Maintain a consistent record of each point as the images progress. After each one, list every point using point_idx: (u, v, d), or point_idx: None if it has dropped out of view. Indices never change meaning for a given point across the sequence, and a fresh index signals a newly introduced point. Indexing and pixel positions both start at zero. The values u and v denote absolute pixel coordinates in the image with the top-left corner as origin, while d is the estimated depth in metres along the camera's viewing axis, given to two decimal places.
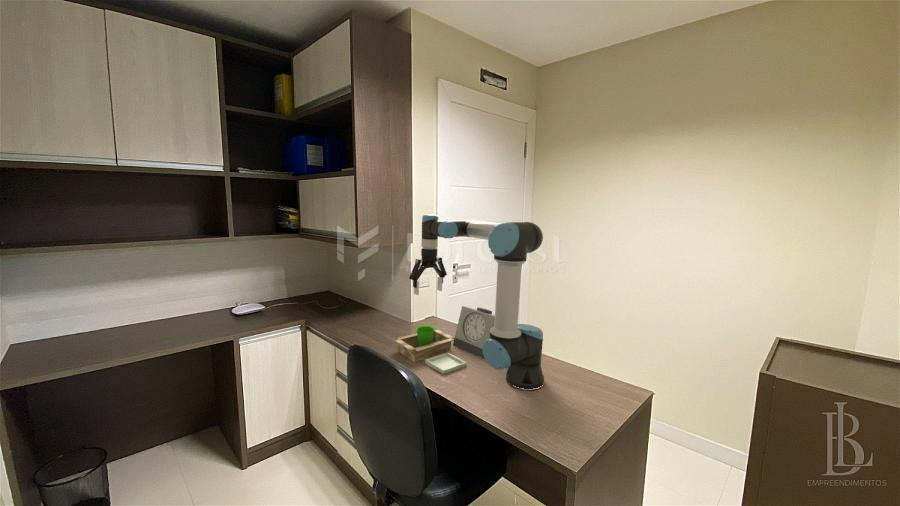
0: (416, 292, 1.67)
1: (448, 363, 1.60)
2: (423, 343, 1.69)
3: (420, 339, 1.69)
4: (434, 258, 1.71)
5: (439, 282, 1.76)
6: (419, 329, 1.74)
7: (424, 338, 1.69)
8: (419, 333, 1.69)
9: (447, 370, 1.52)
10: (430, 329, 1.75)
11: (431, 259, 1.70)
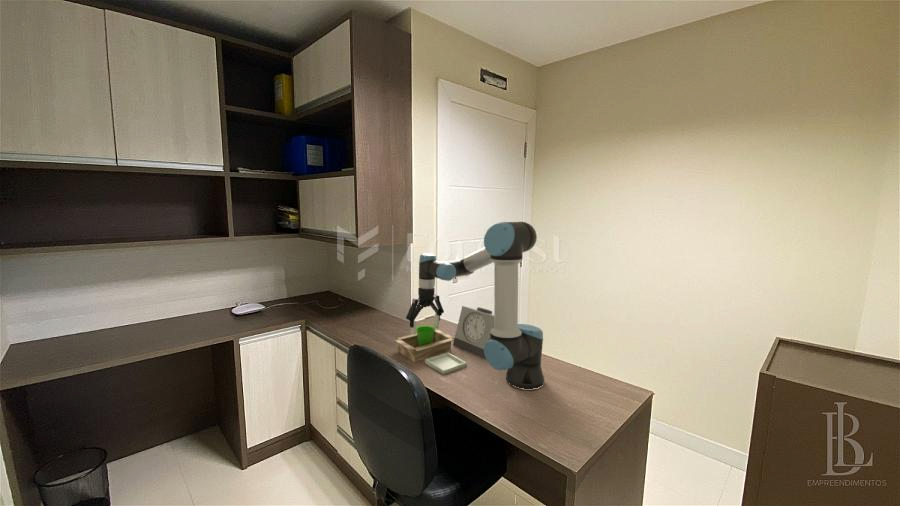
0: (413, 332, 1.67)
1: (448, 363, 1.60)
2: (423, 343, 1.69)
3: (420, 339, 1.69)
4: (431, 297, 1.70)
5: (436, 320, 1.75)
6: (419, 329, 1.74)
7: (424, 338, 1.69)
8: (419, 333, 1.69)
9: (447, 370, 1.52)
10: (430, 329, 1.75)
11: (428, 298, 1.69)
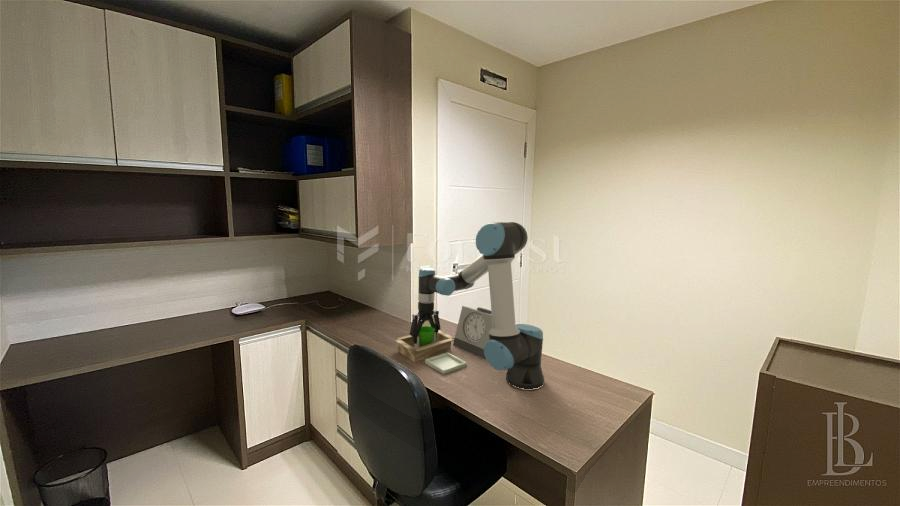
0: None
1: (448, 363, 1.60)
2: (423, 343, 1.69)
3: (420, 339, 1.69)
4: (431, 310, 1.71)
5: (433, 337, 1.75)
6: None
7: (424, 338, 1.69)
8: (419, 333, 1.69)
9: (447, 370, 1.52)
10: (430, 329, 1.75)
11: (428, 311, 1.70)
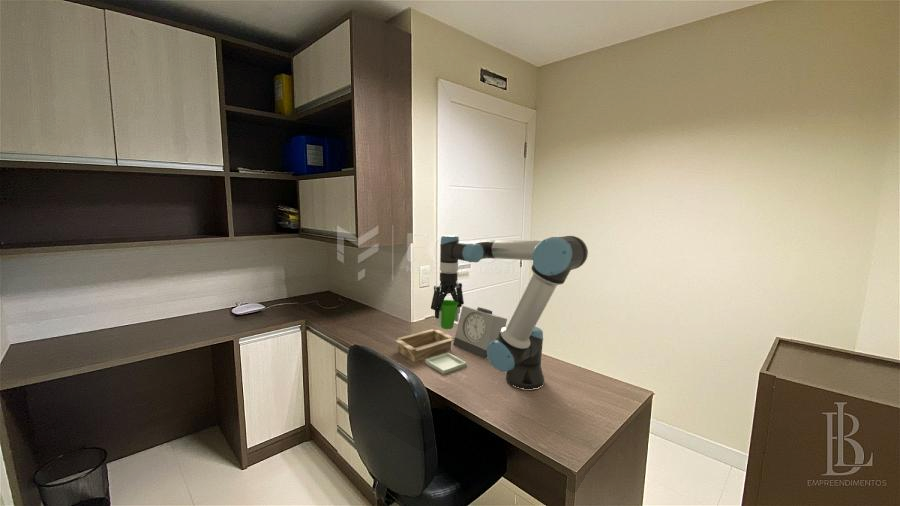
0: (438, 323, 1.53)
1: (448, 363, 1.60)
2: (446, 318, 1.54)
3: (442, 313, 1.54)
4: (454, 282, 1.55)
5: None
6: None
7: (447, 312, 1.53)
8: (441, 307, 1.53)
9: (447, 370, 1.52)
10: (452, 303, 1.59)
11: (451, 283, 1.54)
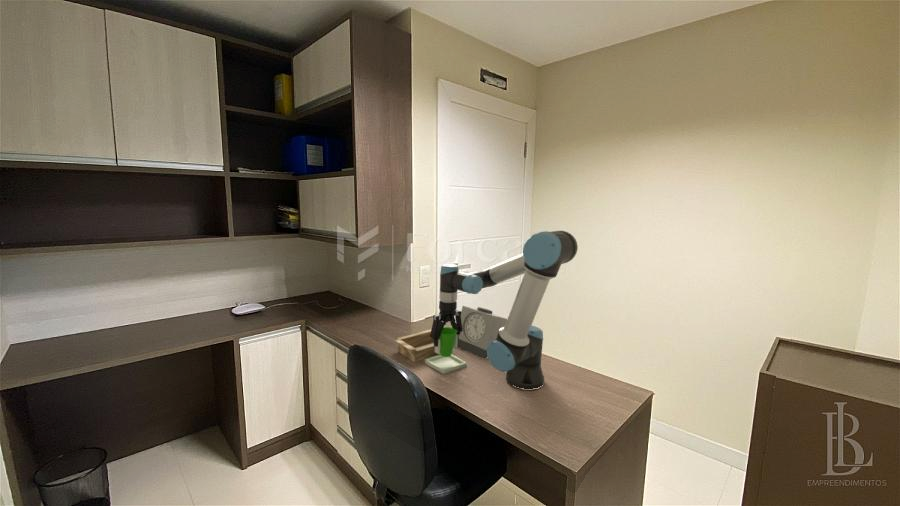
0: (437, 351, 1.55)
1: (448, 363, 1.60)
2: (444, 346, 1.55)
3: (441, 341, 1.55)
4: (453, 311, 1.57)
5: None
6: None
7: (446, 340, 1.55)
8: (440, 335, 1.55)
9: (447, 370, 1.52)
10: (451, 331, 1.61)
11: (450, 311, 1.56)
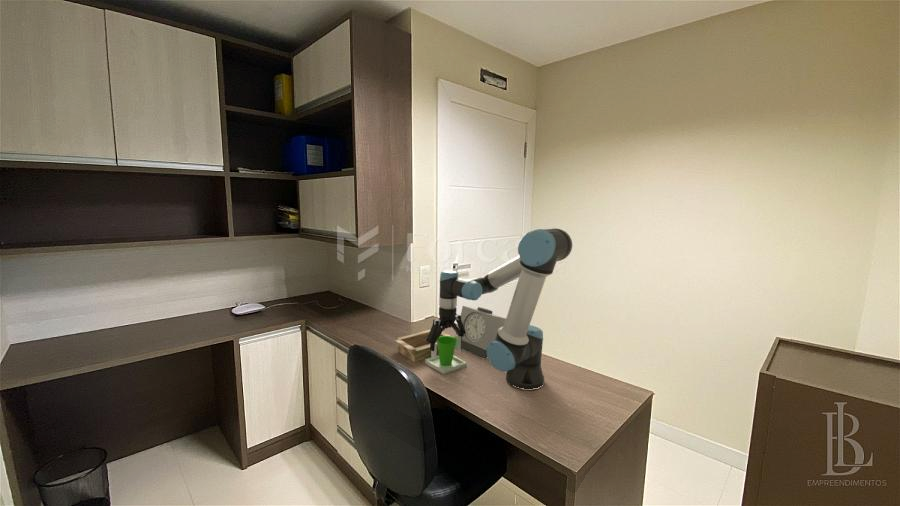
0: (434, 355, 1.54)
1: None
2: (444, 355, 1.56)
3: (441, 351, 1.56)
4: (453, 317, 1.57)
5: (458, 341, 1.62)
6: (439, 340, 1.61)
7: (446, 350, 1.55)
8: (440, 344, 1.55)
9: (447, 370, 1.52)
10: (451, 339, 1.61)
11: (450, 319, 1.56)
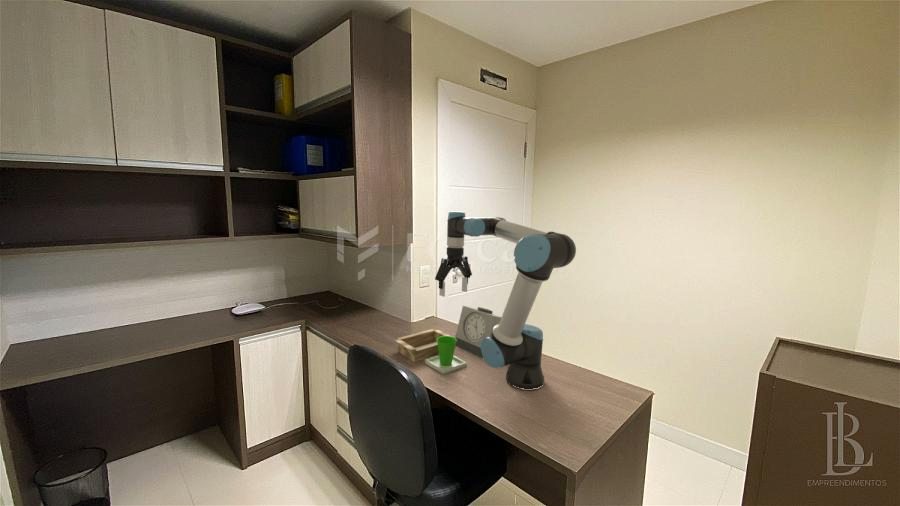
0: (442, 293, 1.58)
1: None
2: (444, 355, 1.56)
3: (441, 351, 1.56)
4: (460, 257, 1.62)
5: (464, 283, 1.67)
6: (439, 340, 1.61)
7: (446, 350, 1.55)
8: (440, 344, 1.55)
9: (447, 370, 1.52)
10: (451, 340, 1.61)
11: (457, 258, 1.61)
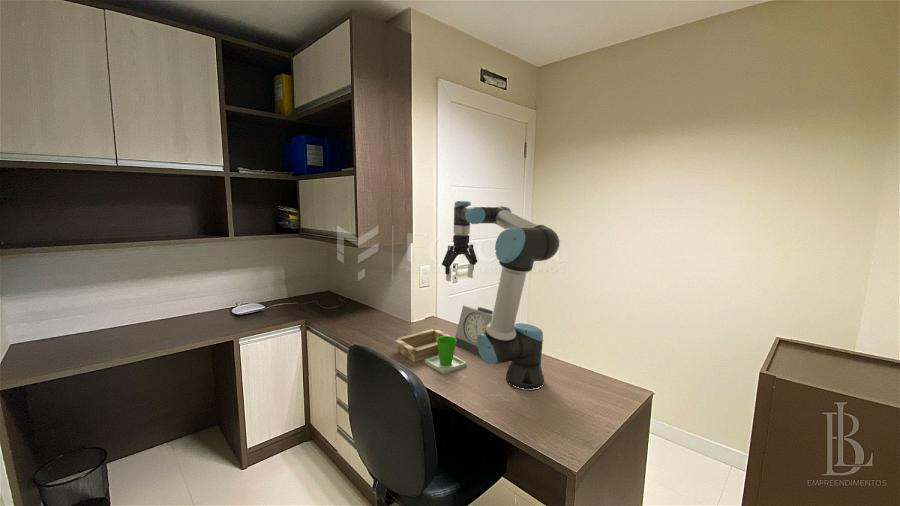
0: (448, 279, 1.67)
1: None
2: (444, 355, 1.56)
3: (441, 351, 1.56)
4: (466, 245, 1.70)
5: (470, 269, 1.75)
6: (439, 340, 1.61)
7: (446, 350, 1.55)
8: (440, 344, 1.55)
9: (447, 370, 1.52)
10: (451, 340, 1.61)
11: (463, 246, 1.69)
